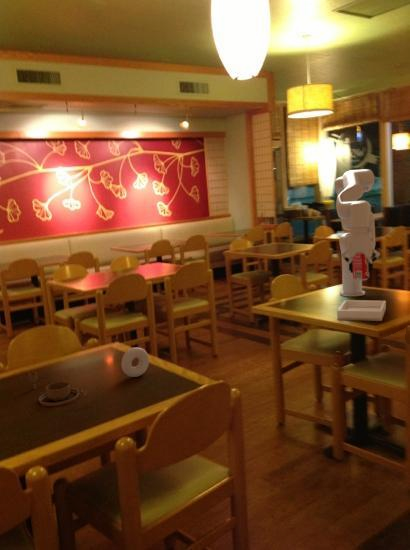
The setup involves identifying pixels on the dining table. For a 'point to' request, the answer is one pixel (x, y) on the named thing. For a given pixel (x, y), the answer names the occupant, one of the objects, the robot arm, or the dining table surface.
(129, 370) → the donut
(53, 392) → the place setting
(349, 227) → the robot arm
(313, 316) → the dining table surface
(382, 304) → the tray
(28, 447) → the dining table surface
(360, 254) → the soda can
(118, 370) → the dining table surface
